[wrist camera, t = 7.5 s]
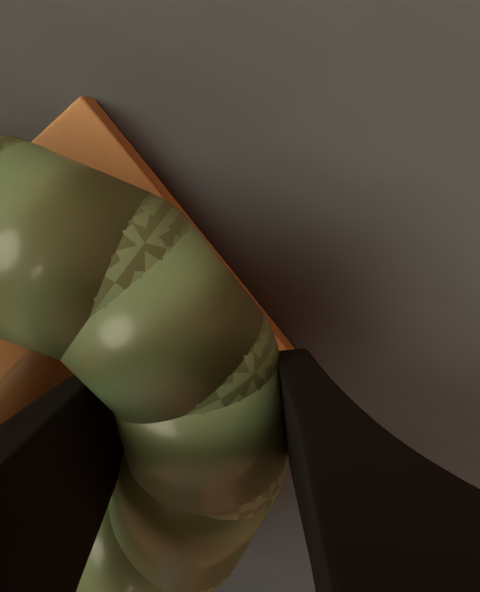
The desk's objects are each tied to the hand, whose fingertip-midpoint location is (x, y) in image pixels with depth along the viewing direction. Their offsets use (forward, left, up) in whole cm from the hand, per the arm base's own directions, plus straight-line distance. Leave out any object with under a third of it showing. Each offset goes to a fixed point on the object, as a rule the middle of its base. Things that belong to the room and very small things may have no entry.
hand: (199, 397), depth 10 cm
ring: (-4, +2, 0) cm, 4 cm away
